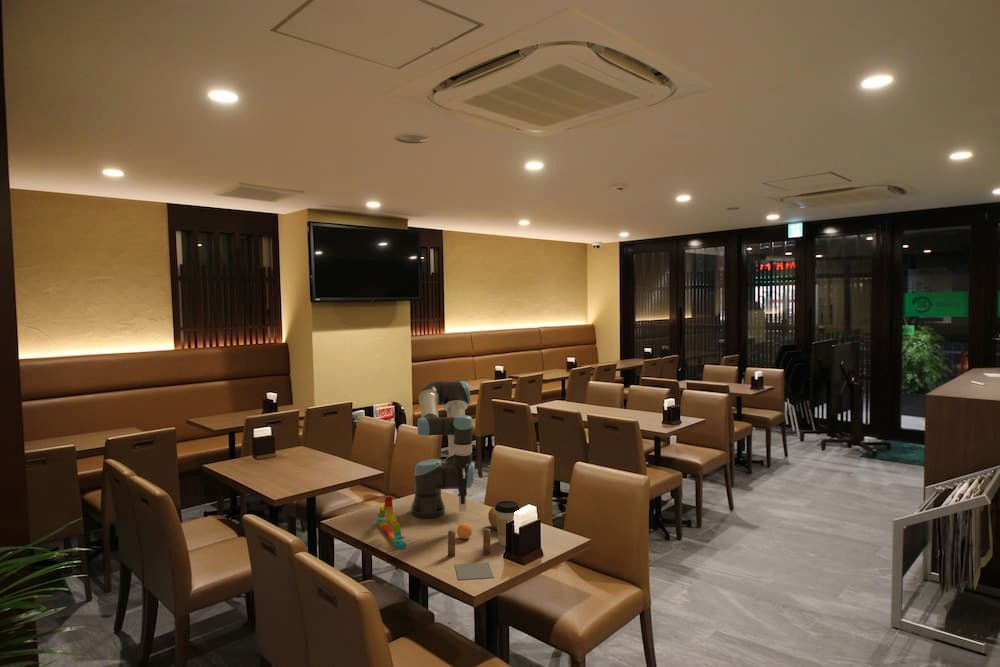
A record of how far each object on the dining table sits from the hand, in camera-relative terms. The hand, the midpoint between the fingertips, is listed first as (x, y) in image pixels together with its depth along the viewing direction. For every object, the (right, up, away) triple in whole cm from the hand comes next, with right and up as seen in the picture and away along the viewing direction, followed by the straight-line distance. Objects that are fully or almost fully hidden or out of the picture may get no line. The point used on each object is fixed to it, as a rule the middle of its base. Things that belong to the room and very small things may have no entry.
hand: (462, 510), depth 241 cm
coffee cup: (+18, -9, -12) cm, 23 cm away
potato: (+16, -8, +2) cm, 18 cm away
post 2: (+11, -9, -23) cm, 27 cm away
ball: (+1, -5, -9) cm, 10 cm away
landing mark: (+6, -9, -38) cm, 40 cm away
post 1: (-2, -9, -25) cm, 27 cm away
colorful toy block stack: (-28, -9, -6) cm, 30 cm away
